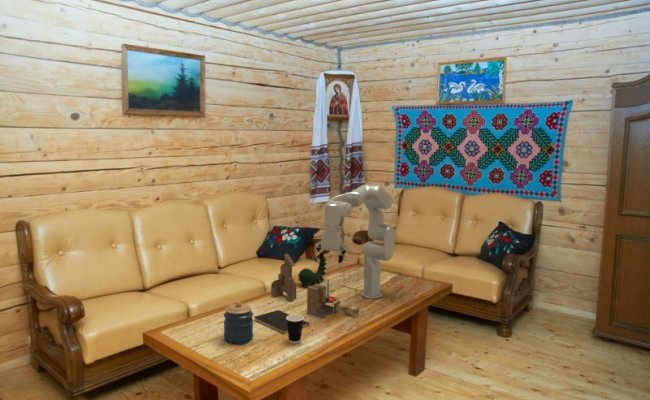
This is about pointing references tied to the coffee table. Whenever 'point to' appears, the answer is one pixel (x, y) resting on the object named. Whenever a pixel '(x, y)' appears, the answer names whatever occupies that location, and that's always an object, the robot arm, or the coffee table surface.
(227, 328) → the canister
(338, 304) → the bed rail
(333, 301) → the tow hook
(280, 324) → the hardcover book
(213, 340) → the coffee table surface
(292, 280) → the wooden toy
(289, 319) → the dixie cup
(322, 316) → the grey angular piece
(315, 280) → the toy figurine
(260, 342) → the coffee table surface
